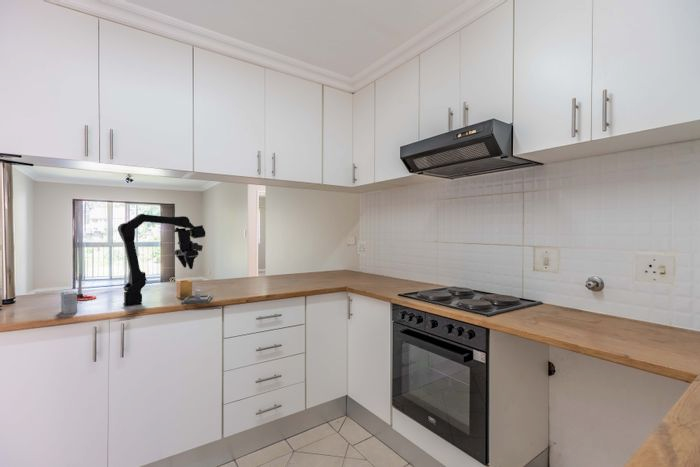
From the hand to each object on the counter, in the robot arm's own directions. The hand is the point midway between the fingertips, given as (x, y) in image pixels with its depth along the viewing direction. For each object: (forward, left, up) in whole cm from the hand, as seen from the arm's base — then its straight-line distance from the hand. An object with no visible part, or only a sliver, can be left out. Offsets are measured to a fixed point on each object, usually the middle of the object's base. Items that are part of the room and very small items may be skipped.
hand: (188, 268), depth 173 cm
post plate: (+1, -12, -16) cm, 20 cm away
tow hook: (-40, +30, -16) cm, 53 cm away
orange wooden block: (-1, +2, -16) cm, 16 cm away
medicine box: (-48, +2, -16) cm, 51 cm away
